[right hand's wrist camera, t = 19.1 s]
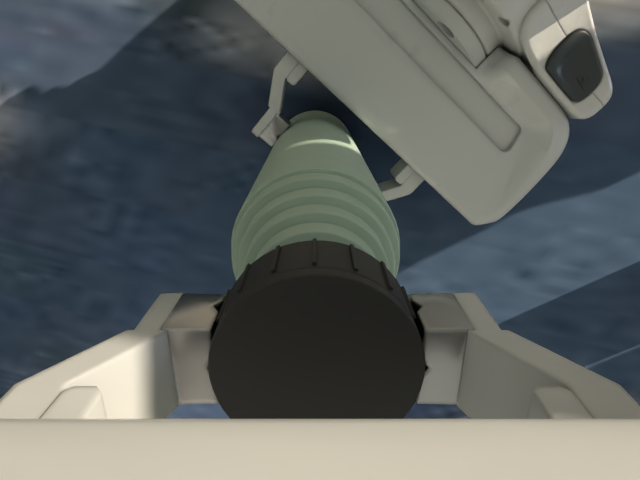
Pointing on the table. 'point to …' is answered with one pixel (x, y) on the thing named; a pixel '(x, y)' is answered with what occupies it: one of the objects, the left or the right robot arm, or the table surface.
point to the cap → (316, 338)
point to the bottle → (315, 197)
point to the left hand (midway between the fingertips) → (306, 177)
